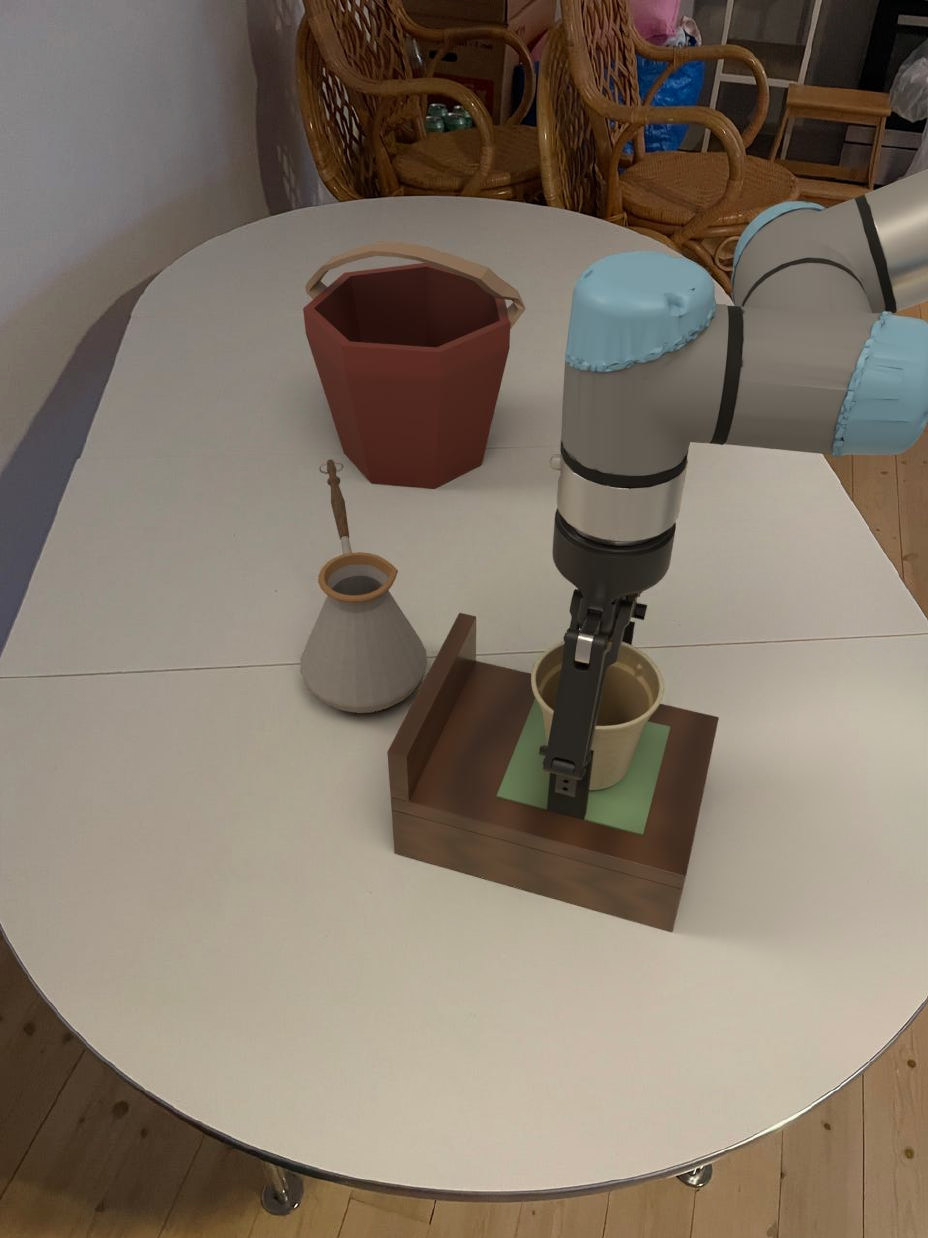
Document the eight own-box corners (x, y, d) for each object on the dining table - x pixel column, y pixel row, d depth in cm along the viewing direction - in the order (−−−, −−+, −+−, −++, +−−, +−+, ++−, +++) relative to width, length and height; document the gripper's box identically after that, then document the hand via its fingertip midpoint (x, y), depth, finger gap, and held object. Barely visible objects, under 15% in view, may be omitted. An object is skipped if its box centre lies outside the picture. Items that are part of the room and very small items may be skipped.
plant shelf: (705, 773, 88) (729, 672, 80) (672, 932, 77) (696, 832, 69) (459, 713, 93) (459, 612, 85) (394, 853, 82) (386, 752, 74)
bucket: (548, 443, 127) (561, 240, 111) (444, 532, 114) (441, 316, 97) (388, 387, 138) (378, 194, 121) (276, 463, 124) (247, 257, 107)
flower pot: (500, 756, 80) (503, 675, 74) (585, 697, 85) (594, 618, 79) (590, 830, 75) (600, 750, 69) (675, 764, 80) (691, 683, 74)
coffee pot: (439, 717, 93) (436, 587, 83) (310, 739, 91) (292, 609, 81) (396, 571, 109) (390, 447, 99) (286, 587, 107) (268, 462, 97)
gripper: (601, 405, 74) (579, 627, 88) (498, 626, 57) (491, 860, 71) (707, 423, 73) (668, 646, 87) (635, 657, 55) (600, 890, 69)
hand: (588, 743), depth 79 cm, fingers open, 13 cm apart
